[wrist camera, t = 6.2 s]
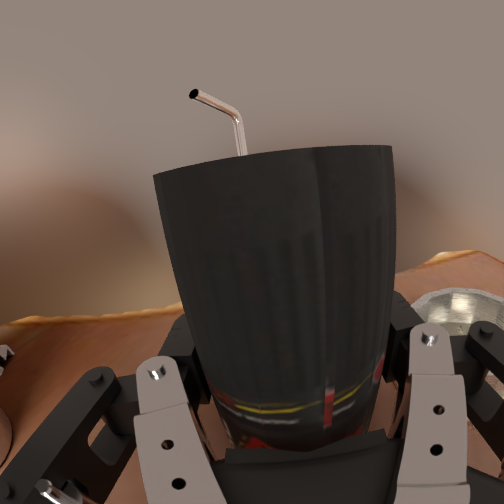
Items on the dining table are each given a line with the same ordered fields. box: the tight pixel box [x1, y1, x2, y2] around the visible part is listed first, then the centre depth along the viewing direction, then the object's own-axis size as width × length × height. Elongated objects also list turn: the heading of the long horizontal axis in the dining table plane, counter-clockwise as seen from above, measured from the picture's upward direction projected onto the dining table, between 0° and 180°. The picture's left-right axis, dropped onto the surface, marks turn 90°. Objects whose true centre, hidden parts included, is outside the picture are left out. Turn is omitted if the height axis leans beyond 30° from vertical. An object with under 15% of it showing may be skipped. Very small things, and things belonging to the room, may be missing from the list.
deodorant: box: [153, 145, 396, 452], centre depth 9 cm, size 6×6×15 cm
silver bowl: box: [393, 287, 504, 424], centre depth 14 cm, size 12×12×4 cm
